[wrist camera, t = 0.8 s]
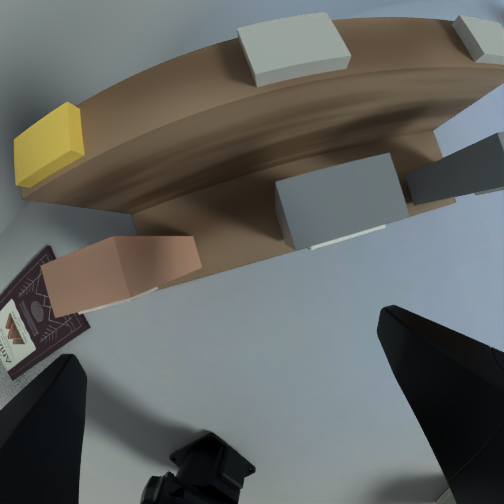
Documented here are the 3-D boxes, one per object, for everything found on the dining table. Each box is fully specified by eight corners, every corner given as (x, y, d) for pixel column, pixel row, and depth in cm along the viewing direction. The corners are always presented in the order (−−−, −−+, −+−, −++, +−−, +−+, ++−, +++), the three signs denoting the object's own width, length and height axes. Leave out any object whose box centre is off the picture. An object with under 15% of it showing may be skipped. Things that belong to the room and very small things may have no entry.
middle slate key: (342, 229, 22) (410, 222, 10) (285, 246, 22) (297, 256, 10) (332, 195, 22) (389, 152, 10) (275, 211, 22) (275, 182, 10)
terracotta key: (203, 270, 23) (132, 302, 11) (151, 284, 23) (56, 322, 11) (193, 236, 23) (113, 236, 11) (142, 252, 23) (40, 265, 11)
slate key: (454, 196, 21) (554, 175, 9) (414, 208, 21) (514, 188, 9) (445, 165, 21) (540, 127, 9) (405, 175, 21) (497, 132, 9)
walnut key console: (454, 202, 22) (573, 181, 8) (154, 290, 24) (40, 342, 10) (418, 102, 21) (503, 20, 7) (126, 181, 24) (5, 141, 10)
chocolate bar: (87, 328, 24) (12, 380, 26) (92, 326, 25) (16, 378, 27) (47, 246, 24) (-18, 318, 26) (53, 245, 25) (-14, 317, 27)
